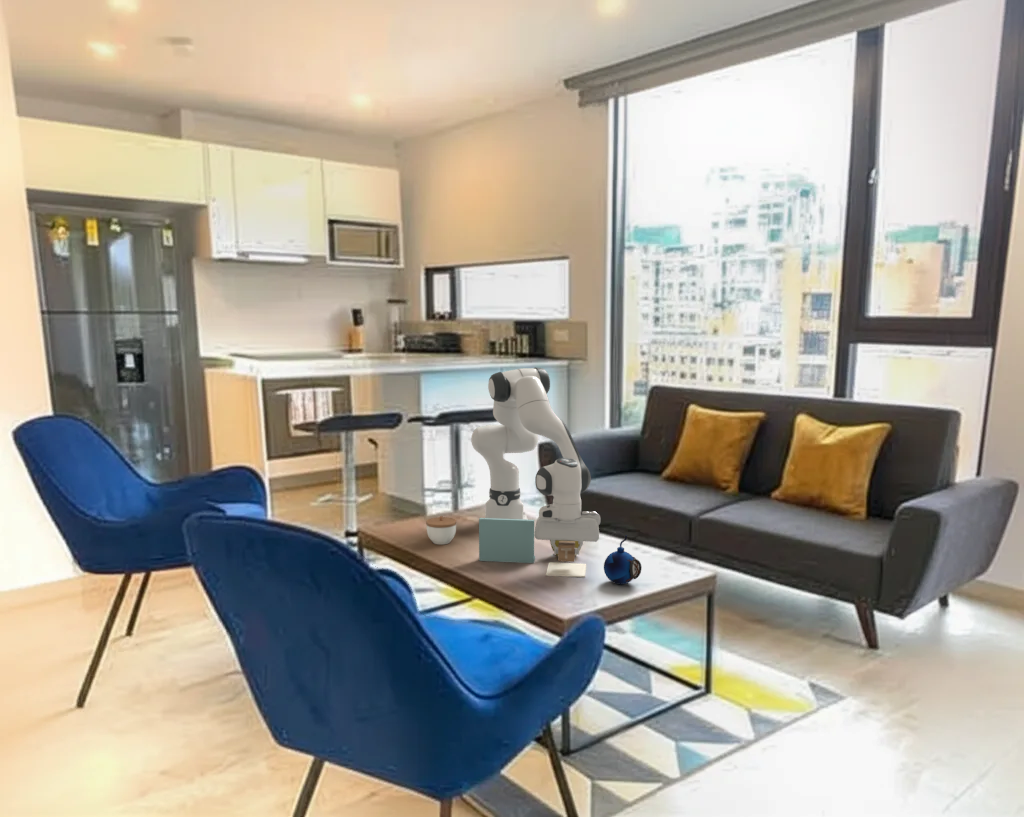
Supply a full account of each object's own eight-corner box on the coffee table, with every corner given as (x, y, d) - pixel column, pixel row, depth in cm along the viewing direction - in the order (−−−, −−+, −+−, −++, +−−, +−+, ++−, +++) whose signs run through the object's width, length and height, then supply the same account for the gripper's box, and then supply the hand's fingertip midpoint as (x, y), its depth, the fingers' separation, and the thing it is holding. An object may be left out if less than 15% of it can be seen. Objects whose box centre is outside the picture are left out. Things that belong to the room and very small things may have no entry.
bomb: (630, 592, 212) (631, 541, 211) (597, 584, 219) (598, 535, 217) (645, 583, 220) (646, 534, 218) (613, 575, 227) (614, 528, 225)
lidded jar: (462, 540, 264) (462, 514, 263) (446, 548, 255) (445, 521, 254) (437, 536, 269) (437, 511, 268) (420, 543, 260) (420, 517, 259)
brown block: (559, 556, 234) (559, 540, 233) (574, 556, 233) (575, 541, 233) (558, 561, 229) (558, 545, 228) (574, 561, 228) (574, 546, 227)
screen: (481, 556, 246) (481, 515, 244) (535, 558, 243) (535, 517, 242) (479, 560, 241) (479, 519, 239) (533, 563, 239) (533, 520, 237)
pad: (549, 563, 238) (549, 562, 238) (586, 565, 237) (586, 563, 237) (546, 575, 226) (546, 574, 226) (585, 577, 225) (585, 576, 225)
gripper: (600, 509, 231) (600, 552, 233) (536, 507, 234) (535, 549, 235) (600, 514, 225) (599, 558, 226) (534, 512, 228) (533, 555, 229)
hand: (566, 553), depth 231 cm, fingers closed on brown block, 5 cm apart
